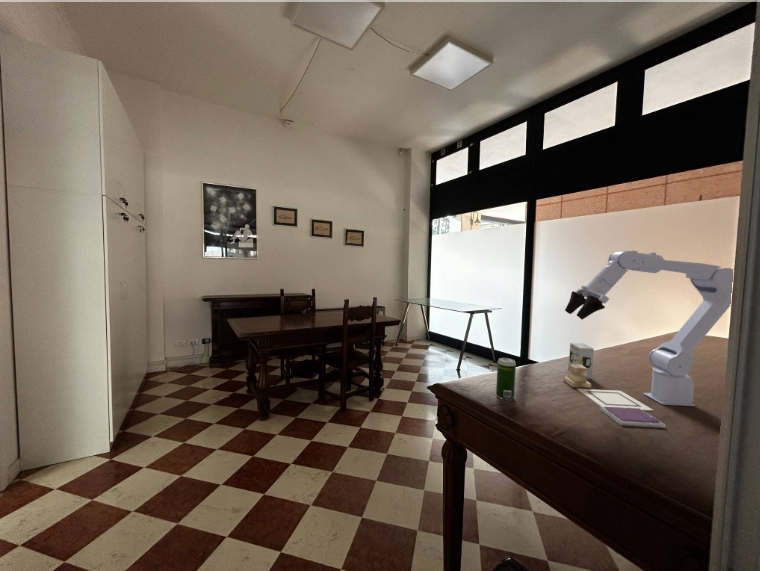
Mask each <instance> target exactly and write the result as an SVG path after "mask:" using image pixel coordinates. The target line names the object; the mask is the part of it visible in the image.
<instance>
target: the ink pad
mask: <svg viewBox="0 0 760 571" xmlns="http://www.w3.org/2000/svg"><path fill="white" fill-rule="evenodd" d="M599 410H600V411H601V412H602V413H603V414H605V415H607V417H609V418H610V419H611V420H613V421H614V422H616V423H617V424H618V425H620V426H624V427H643V428H644V427H645V428H662V429H665V428H666V424H665V423H664V422H663V421H661V420H659V419H658V418H657V417H655V416H653V415H652V414H650V413H648V412H647V411H643V410H641V409H640V408H622V407H603V406H599Z"/></svg>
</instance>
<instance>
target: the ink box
mask: <svg viewBox="0 0 760 571" xmlns="http://www.w3.org/2000/svg"><path fill="white" fill-rule="evenodd" d="M594 351H595V349H594V347H592V346H589V345H588V344H586V343H583V342H570V343H569V356H568V365H569V364H575V365H582V366H584V367H586V368H587V380H592V377H593V364H594V353H595V352H594ZM567 371H568V372H569V366H568V370H567Z"/></svg>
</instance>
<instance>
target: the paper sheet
mask: <svg viewBox="0 0 760 571" xmlns="http://www.w3.org/2000/svg"><path fill="white" fill-rule="evenodd" d="M577 391H579V392H580V393H581V394H583V395H584V396H586V398H588V399H589V400H591V401H592V402H594V403H595V404H596V405H598V406H599V407H600V406H603V407H622V408H640V409H641V410H643V411H645V412H653V411H654V409H652V408H651V407H649V406H647V405H646V404H644V403H642V402H640V401H639V400H637V399H635V398H634V397H632V396H631V395H628V394H627V393H625V392H624V391H622V390H616V389H615V390H611V389H610V390H609V389H592V388H591V389H577Z"/></svg>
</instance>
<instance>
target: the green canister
mask: <svg viewBox="0 0 760 571" xmlns="http://www.w3.org/2000/svg"><path fill="white" fill-rule="evenodd" d="M516 366H517V364H516V361H515V359H512V358H507V357H501V358H500V357H499V358H498V361H497V367H496V369H497V370H496V390H495V391H496V392H495V394H496V397H497V396H498V397H499V398H498V397H497V398H498V399H500V398H502V399H505V400H504V401H512V400H513V399H515V389H516V388H515V386H516V385H515V384H516ZM502 399H501V400H502ZM511 399H512V400H511Z"/></svg>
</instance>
